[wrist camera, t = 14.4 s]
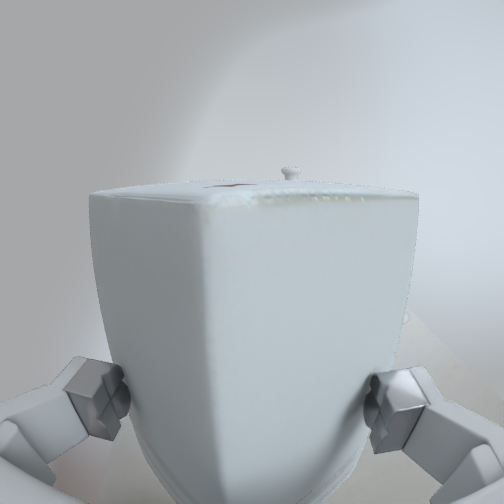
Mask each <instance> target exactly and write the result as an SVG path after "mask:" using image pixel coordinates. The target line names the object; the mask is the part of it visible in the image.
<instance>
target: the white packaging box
mask: <svg viewBox="0 0 504 504" xmlns="http://www.w3.org/2000/svg"><path fill="white" fill-rule="evenodd" d="M418 212H419V195H418V194H417V193H414V192H409V191H402V190H393V189H386V188H378V187H369V186H361V185H351V184H341V183H329V182H314V181H293V180H214V181H190V182H173V183H162V184H151V185H141V186H132V187H124V188H118V189H110V190H103V191H96V192H93V193H91V194H90V195H89V219H90V236H91V248H92V257H93V266H94V273H95V279H96V285H97V292H98V298H99V303H100V308H101V313H102V318H103V323H104V327H105V332H106V336H107V340H108V344H109V349H110V353H111V357H112V361H113V364H118V365H119V366H121V367H122V369H123V372H124V375H125V376H124V378H123V380H122V381H123V382H124V383H125V384H126V385H127V386H128V389H129V392H130V395H131V404H130V409H129V411H128V413H129V416H130V419H131V421H132V424H133V427H134V430H135V433H136V436H137V439H138V441H139V444H140V446H141V449H142V451H143V454H144V456H145V459H146V461H147V462H148V464H149V466H150V467H151V469H152V470H153V472H154V473H155V475H156V476H157V478H158V479H159V481H160V482H161V483H162V485H163V486H164V487H165V489H166V490H167V491H168V493H169V494H170V495H171V497H172V498H173V499H174V500H175V502H176V503H177V504H320V503H321V502H323V501H324V500H325V499H326V498H327V497H328V496H329V495H330V494H332V493H333V492H334V491H335V490H336V489H337V488H338V487H339V486H340V485H341V484H342V483H343V482H344V481H345V480H346V479H347V478H348V477H349V476H350V475H351V474H352V473H353V471H354V469H355V467H356V464H357V462H358V459H359V457H360V455H361V452H362V450H363V448H364V445H365V443H366V440H367V438H368V436H369V433H370V430H371V429H370V428H369V427H367V426H366V424H365V421H364V416H363V404H364V400H365V396H366V395H367V394H368V393H369V392H370V391H371V387H370V385H369V383H370V379H371V376H372V375H373V373H377V372H386V371H391V368H392V364H393V361H394V357H395V354H396V350H397V346H398V342H399V338H400V333H401V329H402V324H403V320H404V315H405V310H406V305H407V299H408V294H409V288H410V282H411V276H412V268H413V261H414V253H415V244H416V234H417V225H418Z"/></svg>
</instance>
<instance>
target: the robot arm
mask: <svg viewBox="0 0 504 504" xmlns="http://www.w3.org/2000/svg"><path fill="white" fill-rule="evenodd" d="M124 376H125V375H124V372H123V369H122V367H121V366H119V365H118V364H113V363H108V362H103V361H98V360H94V359H88V358H84V357H80V356H77V357H74V358H73V359H72V360H71V361H70V362H69V364H68V365H67V366H66V367H65V368H64V369H63V370H62V372H61V373H60V374H59V375H58V376H57V377H56V378H55V380H54V381H53V382H52V383H51V384H50V386H48V385H44V386H41V387H39V388H36V389H34V390H31V391H29V392H26V393H24V394H21V395H19V396H16V397H14V398H11V399H8V400H6V401H3V402H1V403H0V504H89V503H87V502H84V501H82V500H79V499H77V498H75V497H73V496H70V495H68V494H66V493H63V492H62V491H60V490H58V489H55V488H53V487H52V486H53V484H54V482H55V480H56V476H55V474H54V473H53V472H52V471H51V469H50V468H49V467H48V466H47V464H48V463H50V462H51V461H53V460H54V459H56V458H57V457H59V456H61V455H62V454H64V453H65V452H67V451H68V450H70V449H71V448H72V447H74V446H76V445H77V444H79V443H80V442H82V441H83V440H84V439H86V438H87V437H89V435H91V436H95V437H98V438H102V439H105V440H110V441H114V439H115V437H116V435H117V433H118V431H119V429H120V427H121V424H120V421H119V420H120V419H121V418H123V417H125V416H126V415H127V413H128V411H129V409H130V404H131V395H130V392H129V389H128V386H127V385H126V384H125V383H124V382H123V381H122V380H123V378H124ZM369 385H370V387H371V391H370V392H369V393H368V394H367V395H366V396H365V400H364V404H363V416H364V421H365V424H366V426H367V427H369V428H370V429H372V431H371V434H370V436H369V438H370V441H371V444H372V447H373V451H374V454H379V453H385V452H391V451H397V450H402V449H403V450H402V451H403V452H404V453H405V454H406V455H408V456H409V457H410V458H411V459H412V460H413V461H415V462H416V463H417V464H418V465H419V466H420V467H422V468H423V469H424V470H425V471H426V472H428V473H429V474H430V475H431V476H432V477H434V478H435V479H436V480H437V481H438V482H440V483H441V484H442V486H441V487H440V488H439V489H438V490H437V491H436V493H435V494H434V495H433V496H432V497H431V499H430V503H431V504H504V427H502V426H500V425H498V424H496V423H494V422H492V421H490V420H488V419H486V418H484V417H482V416H480V415H478V414H476V413H474V412H472V411H470V410H468V409H467V408H465V407H463V406H461V405H459V404H457V403H455V402H453V401H451V400H449V401H446V400H445V399H444V397H443V396H442V394H441V392H440V391H439V389H438V388H437V386H436V385H435V383H434V381H433V380H432V378H431V377H430V375H429V374H428V372H427V371H426V369H425V368H424V367H422V366H417V367H411V368H406V369H401V370H393V371H386V372H377V373H373V375H372V376H371V379H370V383H369Z"/></svg>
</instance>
